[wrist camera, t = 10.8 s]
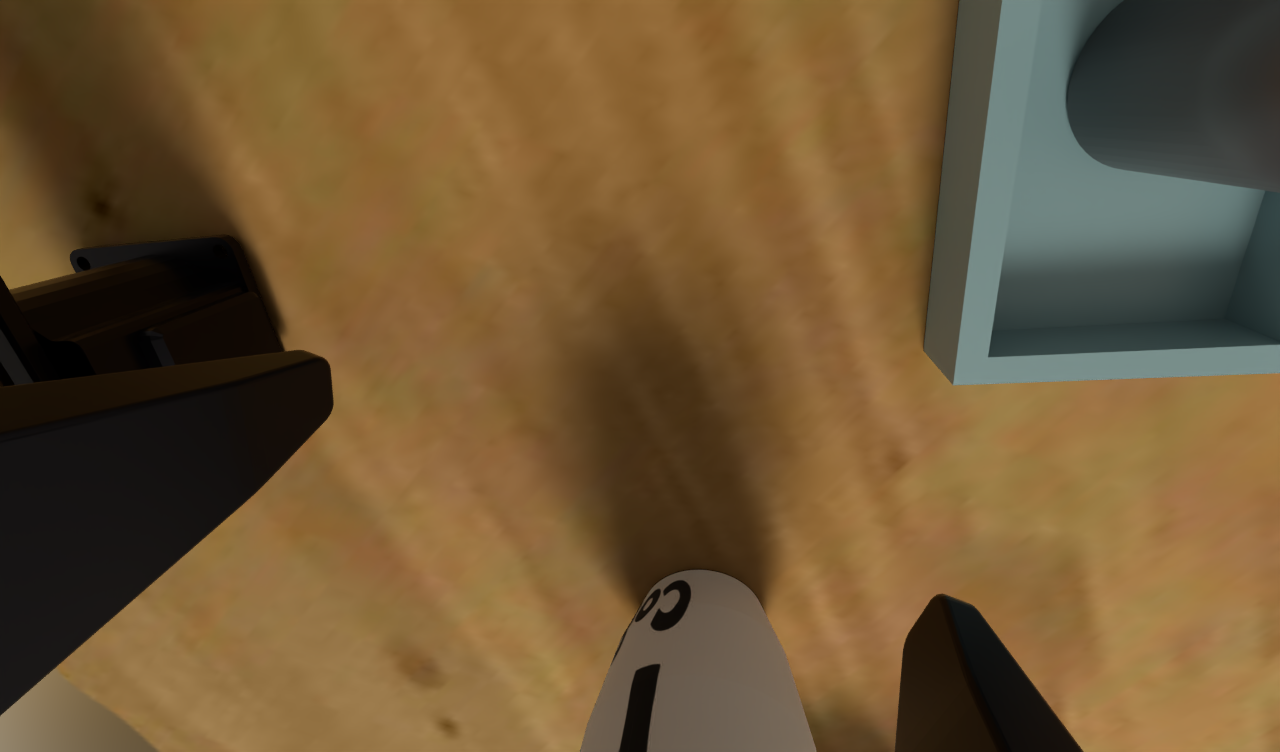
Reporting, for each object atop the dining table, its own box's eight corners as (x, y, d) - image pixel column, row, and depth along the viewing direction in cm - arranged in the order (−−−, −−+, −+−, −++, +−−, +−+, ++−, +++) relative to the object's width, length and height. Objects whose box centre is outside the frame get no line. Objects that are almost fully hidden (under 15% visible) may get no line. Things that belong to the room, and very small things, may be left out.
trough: (923, 350, 19) (953, 385, 16) (974, -152, 13) (1029, -208, 11) (1231, 335, 17) (1311, 371, 15) (1417, -228, 12) (1583, -309, 10)
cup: (667, 507, 22) (632, 775, 13) (843, 599, 23) (921, 911, 14) (577, 630, 26) (501, 910, 17) (733, 707, 27) (740, 1014, 18)
